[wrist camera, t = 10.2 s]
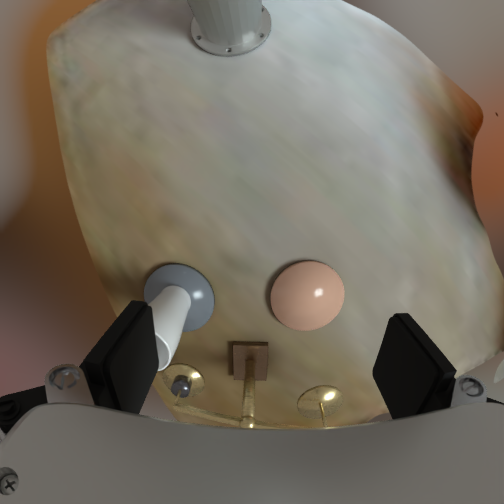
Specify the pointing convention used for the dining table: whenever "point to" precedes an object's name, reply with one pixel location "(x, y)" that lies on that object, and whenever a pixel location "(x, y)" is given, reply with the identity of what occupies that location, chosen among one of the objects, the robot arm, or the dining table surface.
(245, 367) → the balance
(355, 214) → the dining table surface
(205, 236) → the dining table surface
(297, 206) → the dining table surface
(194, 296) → the dish slate
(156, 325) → the drinking glass
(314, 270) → the pink dome
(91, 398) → the robot arm
